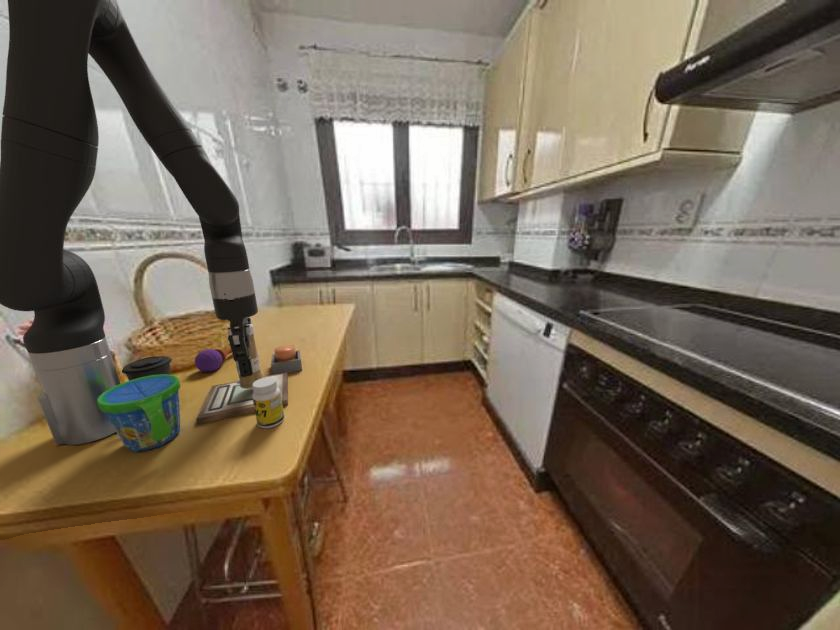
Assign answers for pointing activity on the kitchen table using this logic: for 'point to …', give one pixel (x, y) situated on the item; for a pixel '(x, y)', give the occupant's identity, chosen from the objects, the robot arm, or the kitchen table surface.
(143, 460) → the kitchen table surface
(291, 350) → the button
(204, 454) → the kitchen table surface
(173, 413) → the snack cup
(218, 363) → the kendama
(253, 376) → the spice bottle
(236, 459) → the kitchen table surface
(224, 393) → the colouring board
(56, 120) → the robot arm
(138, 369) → the coffee cup
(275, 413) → the supplement bottle
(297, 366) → the button collar
